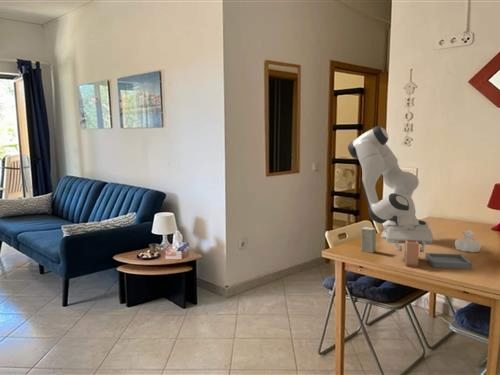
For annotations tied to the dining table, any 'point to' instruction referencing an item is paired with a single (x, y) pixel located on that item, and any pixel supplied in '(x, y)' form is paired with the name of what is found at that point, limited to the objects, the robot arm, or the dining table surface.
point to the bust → (468, 243)
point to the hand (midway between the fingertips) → (411, 250)
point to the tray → (448, 260)
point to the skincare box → (368, 239)
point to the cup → (411, 253)
